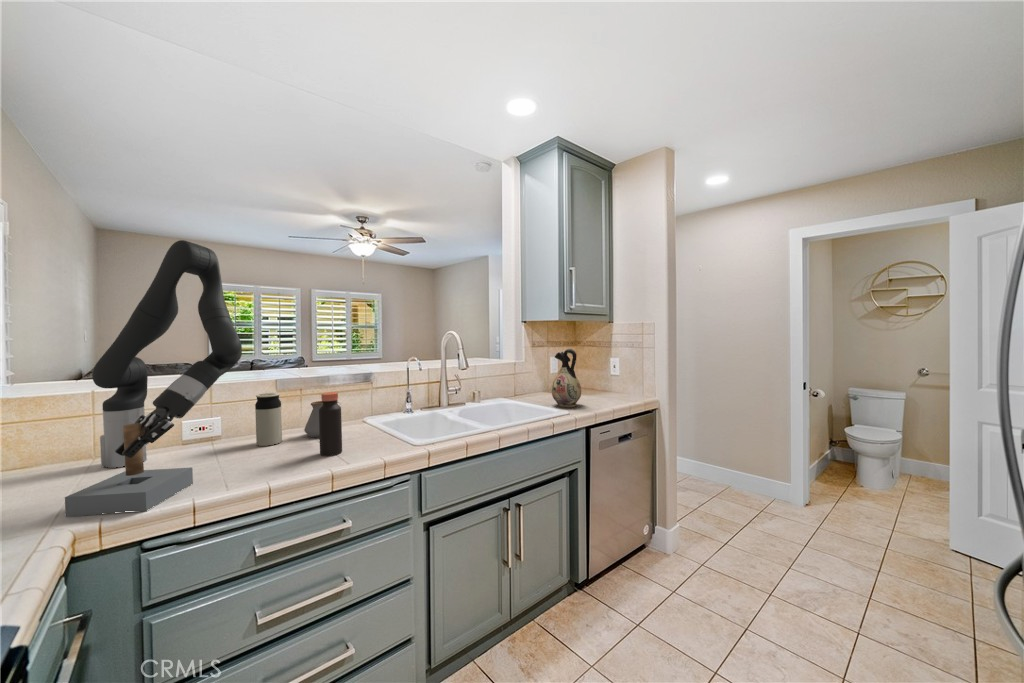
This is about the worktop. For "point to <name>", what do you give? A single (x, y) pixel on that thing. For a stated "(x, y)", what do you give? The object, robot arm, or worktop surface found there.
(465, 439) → the worktop surface
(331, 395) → the bottle
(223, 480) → the worktop surface
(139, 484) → the hole block
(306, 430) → the coffee pot
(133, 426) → the peg
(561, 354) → the ceramic jug
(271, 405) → the travel mug
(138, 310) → the robot arm
